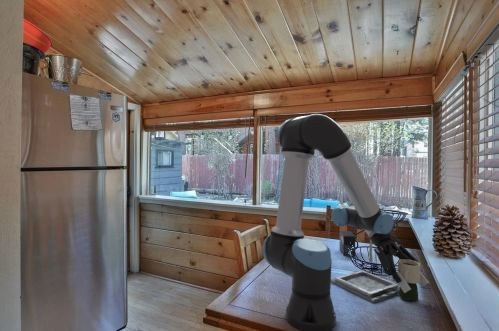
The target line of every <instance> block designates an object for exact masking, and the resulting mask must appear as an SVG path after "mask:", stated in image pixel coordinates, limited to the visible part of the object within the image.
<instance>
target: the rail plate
mask: <svg viewBox="0 0 499 331" xmlns="http://www.w3.org/2000/svg"><path fill="white" fill-rule="evenodd" d="M331 283H332V284H333V285H335V286H338V287H339V288H342V289H344V290H346V291H348V292H350V293H352V294H354V295H356V296H358V297H360V298H362V299H364V300H366V301H368V302H371V303H373V304H375V303H378V302H380V301H383V300H386V299H388V298H390V297H393V296H396V295H399V288H400V286H399V284H398V283H397V282H396V283H395V282H392V281H391V280H388V279H385V278H382V277H380V276H378V275H375V274H372V273H370V272H368V271H365V270H362V269H361V270H359V271H355V272H352V273H349V274H348V273H347V274H343V275H340V276H337V277H335V278H331Z"/></svg>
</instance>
